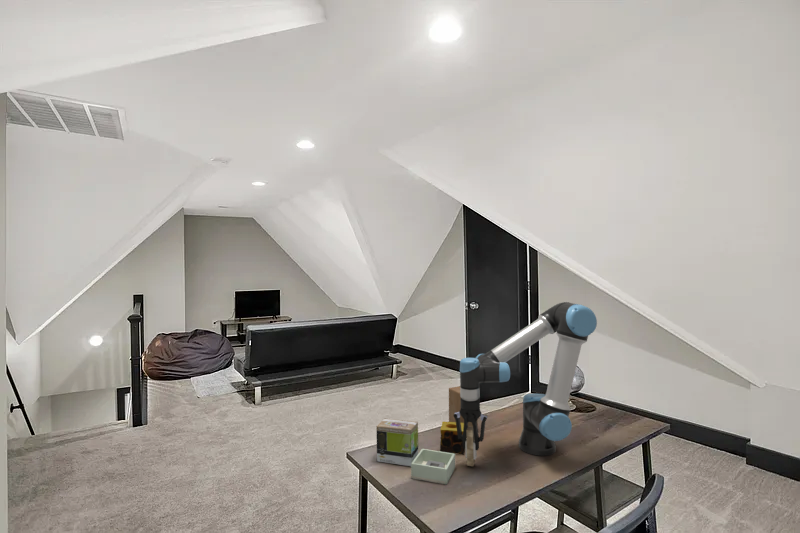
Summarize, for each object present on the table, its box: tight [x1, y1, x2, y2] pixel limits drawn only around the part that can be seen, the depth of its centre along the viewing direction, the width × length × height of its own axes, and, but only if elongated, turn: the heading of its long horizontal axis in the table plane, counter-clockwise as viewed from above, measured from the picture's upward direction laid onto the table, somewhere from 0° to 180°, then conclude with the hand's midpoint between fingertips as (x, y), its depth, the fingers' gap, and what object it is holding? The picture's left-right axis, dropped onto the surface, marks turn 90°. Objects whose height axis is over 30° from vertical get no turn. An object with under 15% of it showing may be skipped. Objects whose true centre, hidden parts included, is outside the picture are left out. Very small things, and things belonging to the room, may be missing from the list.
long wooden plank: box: [466, 426, 476, 467], centre depth 170 cm, size 2×4×14 cm, turn 160°
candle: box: [439, 421, 465, 455], centre depth 186 cm, size 10×10×10 cm
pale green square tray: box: [410, 448, 456, 485], centre depth 165 cm, size 14×14×6 cm
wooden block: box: [448, 385, 479, 428], centre depth 205 cm, size 10×10×20 cm
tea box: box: [375, 418, 419, 467], centre depth 176 cm, size 15×10×15 cm, turn 71°
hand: (471, 457), depth 170 cm, fingers closed on long wooden plank, 2 cm apart
